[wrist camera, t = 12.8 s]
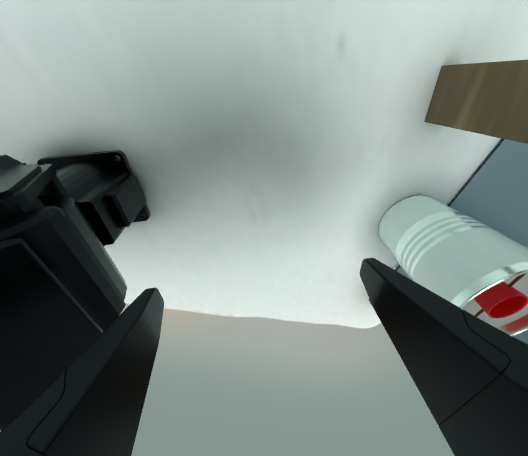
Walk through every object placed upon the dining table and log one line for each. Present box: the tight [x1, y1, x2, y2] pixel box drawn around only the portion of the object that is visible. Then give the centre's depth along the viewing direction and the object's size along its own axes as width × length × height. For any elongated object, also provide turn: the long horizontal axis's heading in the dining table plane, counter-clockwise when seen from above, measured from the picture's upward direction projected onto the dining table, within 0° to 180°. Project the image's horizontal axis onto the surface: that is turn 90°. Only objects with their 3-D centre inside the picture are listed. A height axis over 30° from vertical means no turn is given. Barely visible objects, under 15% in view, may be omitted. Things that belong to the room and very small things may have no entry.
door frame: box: [369, 60, 528, 310], centre depth 18 cm, size 2×29×18 cm, turn 4°
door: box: [397, 139, 528, 344], centre depth 20 cm, size 2×21×14 cm, turn 164°
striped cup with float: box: [378, 195, 528, 336], centre depth 21 cm, size 10×8×12 cm
